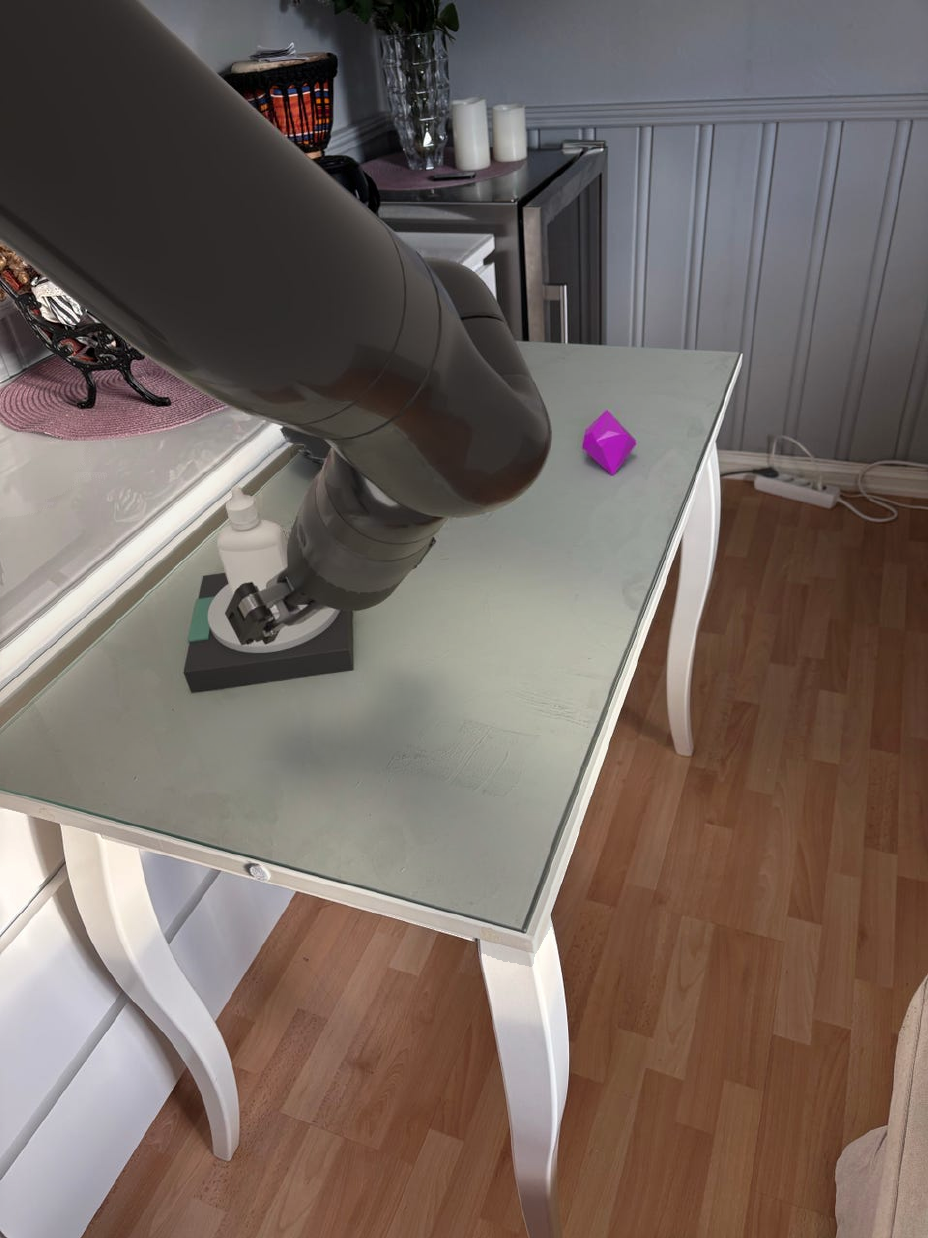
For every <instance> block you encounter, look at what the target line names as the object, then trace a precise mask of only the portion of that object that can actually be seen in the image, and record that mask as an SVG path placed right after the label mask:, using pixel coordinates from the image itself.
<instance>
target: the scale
mask: <svg viewBox="0 0 928 1238" xmlns="http://www.w3.org/2000/svg"><path fill="white" fill-rule="evenodd" d="M232 597H233V595H232V592H231V589H230V586H229V583H228V580H227V577H226V573H225V572H219V573H213V574H206V575H202V578H201V584H200V588H199V594H198V597H197V598H196V600H195V603H194V607H193V613H192V617H191V622H190V628H189V632H188V637H187V643H188V648H187V653H186V658H185V663H184V666H183V672H182V673H183V675H184V678H185V681H186V683H187V686H188V688H189V691H190V693H191V694H194V693H199V692H201V693H202V692H206V691H207V692H208V691H213V690H214V691H215V690H222V689H229V688H235V687H242V686H250V685H256V684H263V683H264V684H265V683H270V682H277V681H284V680H292V679H298V678H306V677H312V676H319V675H326V674H327V675H328V674H333V673H339V672H341V673H342V672H347V671H348V672H349V671H353V670H354V624H353V622H354V621H353V620H354V619H353V613H354V612H353V611H342V610H336V609H333V608H326V609H322V610H320V611H319V612H317V613H316V614H314V615H313V616H312V617H310V618H309V619H307V620H306V621H304V622H303V623H300V624H296V625H292V626H287V625H286V626H284V627H283V628H282V629H280V631H279V633H278V635H277V637H276V639H275V641H273V642H271V643H268V644H266V645H265V644H264V642H263V641H262V640H261V641H259V642H256V641H255V640H254V642H253V643H251V644H249V645H247V644H246V645H241V643H240V642H239V640H238V638H237V636H236V634H235V632H234V630H233V628H232V626H231V624H230V623H229V621H228V619H227V617H226V615H225V612H226V610H227V608H228V606H229V603H230V601H231V599H232ZM306 606H308V605H298V607H299V608H300V610H302V609H303V608H305V607H306ZM273 615H274V617H275V619H277V618H279V616H280V613H274V614H273Z"/></svg>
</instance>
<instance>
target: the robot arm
mask: <svg viewBox="0 0 928 1238" xmlns="http://www.w3.org/2000/svg"><path fill="white" fill-rule="evenodd" d="M0 244H2V245H3V246H4V247H6V248H7V249H8V250H10V251H12V252H13V253H14V254H15V255H16V256H18V257H19V258H20V259H21V260H22V261H24V262H25V263H26V264H28V265H29V266H30V267H32V268H33V269H34V270H35V271H37V272H38V273H39V274H40V275H42V276H43V277H44V278H45V279H47V280H48V281H49V282H51V283H52V284H53V285H54V286H56V288H58V289H59V290H60V291H62V292H63V293H64V294H66V295H67V296H68V297H70V298H71V299H72V300H73V301H75V302H76V303H77V304H79V305H80V306H81V307H82V308H83V309H85V310H86V311H87V312H89V313H90V314H91V315H92V316H94V317H96V319H98V320H99V321H100V322H101V323H102V324H104V325H105V326H107V328H109V329H110V330H111V331H112V332H114V333H115V334H116V335H117V336H119V338H121V339H122V340H124V341H125V342H126V343H128V344H129V345H130V346H131V347H133V348H134V349H135V350H137V352H139V353H140V354H141V355H143V356H144V357H145V358H147V359H149V360H150V361H151V362H152V363H154V364H156V365H157V366H159V367H160V368H161V369H163V370H164V371H165V372H167V373H169V374H171V376H173V377H175V378H176V379H178V380H180V381H181V382H183V383H184V384H186V385H188V386H190V387H191V388H193V389H195V390H196V391H198V392H200V393H202V394H203V395H205V396H207V397H209V398H211V399H213V401H216V402H218V403H219V404H222V405H223V406H226V407H229V408H231V409H233V410H235V411H238V412H240V413H243V414H245V415H249V416H251V417H254V418H258V419H260V420H263V421H266V422H269V423H272V424H275V425H278V426H281V427H283V426H284V427H287V428H290V429H293V430H296V431H299V432H302V433H305V434H308V435H312V436H315V437H318V438H322V439H324V440H325V441H326V442H327V443H328V444H329V445H330V446H331V448H330V451H329V453H328V455H327V458H326V460H325V462H324V465H323V466H321V469H320V470H319V472H318V473H317V474H316V475H315V477H314V478H313V480H312V481H311V482H310V484H309V486H308V488H307V491H306V493H305V495H304V498H303V500H302V502H301V505H300V507H299V510H298V513H297V515H296V517H295V519H294V522H293V524H292V526H291V529H290V532H289V534H288V539H287V566H288V567H287V568H285V569H284V570H282V571H281V572H280V573H278V574H277V575H276V576H274V577H273V578H272V579H270V580H269V581H268V582H267V584H266V589H264V590H262V591H259V589H258V587H257V586H255V585H254V583H253V582H249V583H243V584H241V585H240V586H239V587H238V588H237V589H236V590H235V592H234V595H233V597H232V599H231V601H230V603H229V606H228V608H227V610H226V612H225V615H226V617H227V619H228V621H229V623H230V624H231V626H232V628H233V630H234V632H235V634H236V636H237V638H238V640H239V642H240V643H241V645H246V644H247V645H249V644H251V643H253V642H254V640H255V641H256V642H259V641H261V640H262V641H263V642H264V644H265V645H266V644H268V643H271V642H273V641H275V639H276V637H277V635H278V633H279V631H280V629H282V628H283V627H284V626H286V625H287V626H292V625H296V624H300V623H303V622H304V621H306V620H307V619H309V618H310V617H312V616H313V615H314V614H316V613H317V612H319V611H320V610H322V609H326V608H333V609H336V610H342V611H352V612H358V611H363V610H369V609H370V608H373V607H375V606H377V605H379V604H381V603H383V602H384V601H385V600H387V598H389V597H390V596H391V595H392V594H393V593H394V592H395V590H396V589H397V588H398V587H399V586H400V584H401V583H402V582H403V581H404V580H405V579H406V577H407V576H408V575H409V574H410V573H411V571H413V570H415V569H416V568H418V566H419V565H420V564H421V563H422V562H423V560H424V559H425V558H426V556H427V555H428V554H429V552H430V551H431V550H432V548H433V547H434V546H435V544H436V543H437V540H436V538H435V536H436V535H437V533H438V532H439V531H440V530H441V529H442V527H443V526H444V525H445V524H446V523H447V521H448V520H449V519H450V518H456V519H457V518H458V519H459V518H461V519H462V518H471V517H476V516H480V515H485V514H487V513H491V512H494V511H497V510H500V509H501V508H503V507H505V506H507V505H509V504H510V503H512V502H514V501H516V500H517V499H518V498H519V497H521V496H522V495H523V494H524V493H526V492H527V490H529V489H530V488H531V487H532V486H533V485H534V483H535V482H536V481H537V479H539V476H540V475H541V474H542V472H543V471H544V469H545V466H546V464H547V462H548V458H549V456H550V453H551V448H552V442H553V441H552V440H553V439H552V438H553V431H552V423H551V422H552V421H551V419H550V416H549V411H548V409H547V407H546V404H545V401H544V400H543V398H542V395H541V392H540V391H539V389H538V387H537V383H536V382H535V381H534V378H533V377H532V374H531V372H530V371H529V368H528V366H527V364H526V362H525V360H524V357H523V355H522V353H521V350H520V349H519V346H518V343H517V342H516V339H515V338H514V335H513V333H512V331H511V329H510V327H509V324H508V322H507V320H506V318H505V316H504V314H503V313H504V312H503V311H502V309H501V307H500V304H499V302H498V301H497V298H496V297H495V295H494V292H493V291H492V290H491V289H490V288H489V286H488V285H487V283H486V282H485V281H484V280H483V279H482V278H481V276H479V275H478V274H477V273H476V272H475V271H474V270H473V269H472V268H469V267H468V266H467V265H464V264H462V263H460V262H457V261H456V260H453V259H448V258H440V257H423V256H422V255H421V254H420V253H419V252H418V251H417V250H416V249H415V248H414V247H413V246H412V245H411V244H409V243H408V242H407V241H406V240H405V239H403V238H402V237H401V236H400V234H398V233H397V232H396V231H395V230H393V229H392V228H391V227H390V226H389V224H386V222H385V221H383V220H382V219H381V218H380V217H379V216H378V215H377V214H375V212H373V211H372V210H371V209H370V208H369V207H368V206H367V205H365V203H363V202H362V201H361V200H360V199H359V198H357V197H356V196H355V195H354V194H353V193H351V192H350V191H349V190H348V189H347V188H345V186H344V185H342V184H341V183H340V182H339V181H337V179H335V178H334V177H333V176H331V174H329V173H328V172H327V171H326V170H325V169H324V168H322V167H321V166H320V165H319V164H318V163H316V161H314V160H313V158H311V156H309V155H308V154H306V153H305V152H304V151H303V150H302V149H301V148H300V147H298V146H297V145H296V144H295V143H294V142H293V141H292V140H291V139H290V138H289V137H287V136H286V135H285V133H283V132H282V131H281V130H280V129H279V128H277V127H276V126H275V125H274V124H273V123H272V122H271V121H270V120H268V119H267V118H266V117H265V116H264V115H263V114H262V113H261V112H260V111H259V110H258V109H256V108H255V107H254V106H253V105H252V104H251V103H250V102H249V101H248V100H246V98H245V97H243V96H242V95H241V94H240V93H239V92H238V91H237V90H235V89H234V87H232V86H231V85H230V84H229V83H228V82H227V81H226V80H225V79H224V78H223V77H222V76H220V75H219V74H218V73H217V72H216V71H215V70H214V69H213V68H212V67H211V66H210V65H208V63H206V62H205V60H203V59H202V58H201V57H200V56H199V55H198V54H197V53H196V52H195V51H194V50H193V49H192V48H190V46H189V45H187V44H186V43H185V42H184V41H183V40H182V39H181V38H180V37H179V36H178V35H177V34H176V33H175V32H174V31H173V30H172V29H170V27H168V26H167V24H165V23H164V22H163V21H162V20H161V19H160V18H159V17H158V16H157V15H156V14H155V13H154V12H153V11H152V10H151V9H150V8H149V7H148V6H147V5H146V4H145V3H144V2H143V1H142V0H0ZM274 605H276V607H277V609H278V611H279V613H280V616H279V618H277V619H275V617H274V615H273V613H272V611H271V610H270V609H271V608H272V607H273V606H274ZM298 605H308V606H306V607H305V608H303V609H302V610H300V608H299V607H298Z"/></svg>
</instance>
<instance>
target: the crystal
mask: <svg viewBox="0 0 928 1238" xmlns="http://www.w3.org/2000/svg"><path fill="white" fill-rule="evenodd" d="M581 445H582V446H581V449H582V450H583V451H585V452H586V453H587V454H588V455H589V456H590V457H591V458H592V459H593V460H594V461H595V462H596V463H598V464H599V465H600V466H601V467H602V468H604V469H605V470H606V471H607V472H608V474H610V475H611V476H614V475H615V473H616V472H617V470H618V469H619V468H620V467H621V466H622V464H623V463H624V461H625V460H626V458H627V457H628V456H629V455H630V453H631V452H632V451H633V450H634V448H635V447H636V445H637V440H636V439H635V437H634V436H633V435H632V434H631V433H629V431H628V430H627V429H626V428H625V427H624V426H623V425H622V424H621V422H619V420H617V418H615V416H613V414H612V413H611V412H610V411H609V410H608V409H606V410H605V411H603V413H601V415H599V417H597V418H596V419H595V420H594V421H593V422H592V423H591V424H589V426H587V428H586V429H585V432H584V436H583V440H582V444H581Z"/></svg>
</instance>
